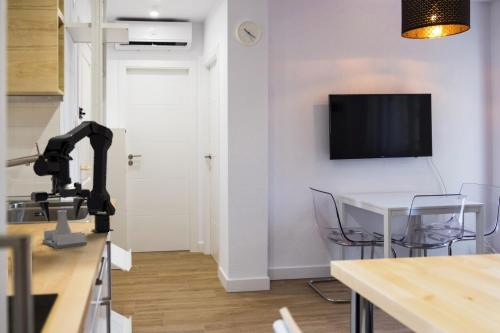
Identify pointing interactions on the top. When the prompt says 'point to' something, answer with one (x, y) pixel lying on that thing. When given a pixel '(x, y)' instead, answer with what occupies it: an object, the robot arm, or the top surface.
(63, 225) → the flask
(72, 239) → the grey stepped block
